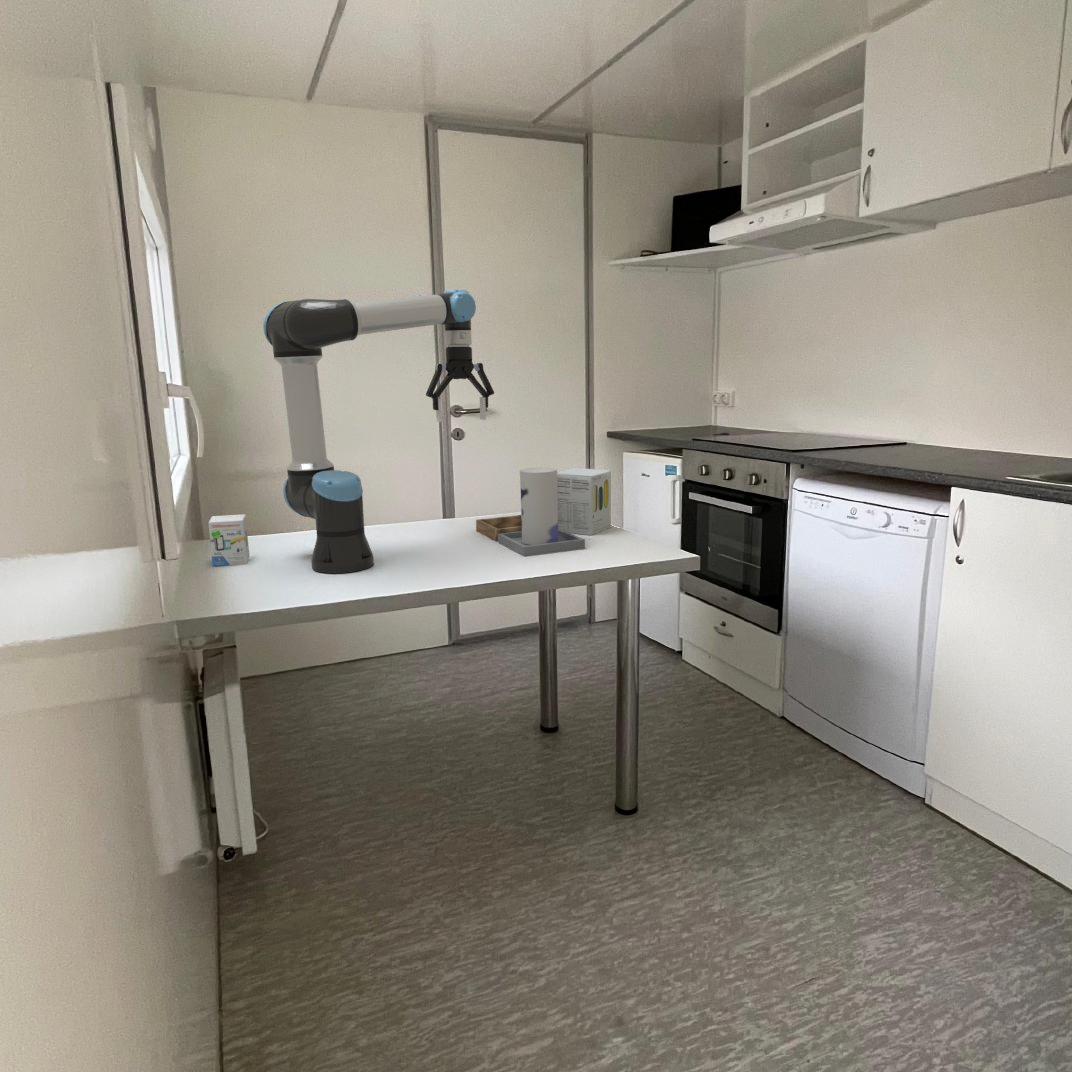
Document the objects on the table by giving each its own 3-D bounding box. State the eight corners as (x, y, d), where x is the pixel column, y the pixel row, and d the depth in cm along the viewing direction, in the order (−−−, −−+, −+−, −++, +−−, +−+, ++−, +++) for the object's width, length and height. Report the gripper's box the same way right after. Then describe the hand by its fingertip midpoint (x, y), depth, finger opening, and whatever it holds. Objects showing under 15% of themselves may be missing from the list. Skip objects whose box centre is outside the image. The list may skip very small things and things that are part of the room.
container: (517, 539, 217) (515, 468, 212) (552, 536, 219) (550, 466, 215) (527, 547, 207) (525, 472, 203) (563, 543, 210) (562, 470, 206)
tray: (523, 556, 202) (523, 547, 201) (497, 542, 218) (497, 533, 217) (585, 548, 209) (584, 539, 209) (555, 535, 225) (555, 527, 225)
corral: (496, 541, 219) (496, 529, 218) (476, 531, 233) (475, 519, 232) (547, 535, 225) (547, 523, 225) (525, 525, 239) (524, 514, 239)
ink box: (212, 566, 197) (206, 521, 194) (216, 558, 205) (211, 515, 202) (247, 564, 199) (243, 519, 197) (250, 556, 207) (245, 513, 205)
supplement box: (591, 536, 224) (591, 475, 221) (552, 531, 231) (551, 473, 227) (611, 527, 235) (612, 469, 232) (573, 523, 242) (573, 467, 238)
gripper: (420, 346, 215) (424, 423, 220) (503, 345, 226) (505, 419, 230) (412, 346, 222) (416, 421, 227) (494, 346, 232) (496, 417, 237)
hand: (461, 420), depth 228 cm, fingers open, 13 cm apart
